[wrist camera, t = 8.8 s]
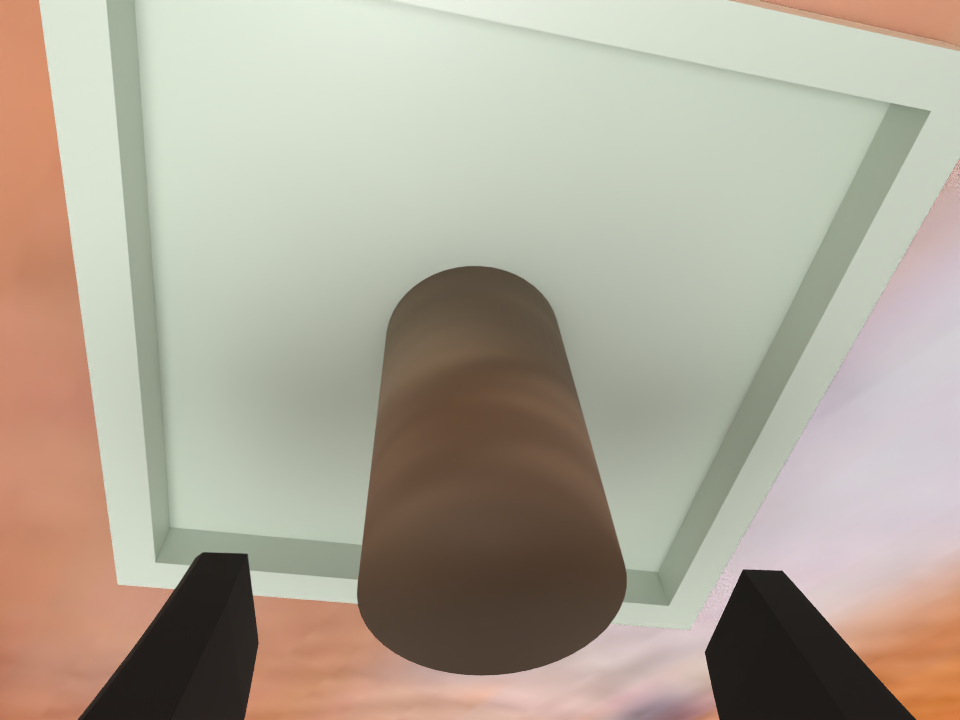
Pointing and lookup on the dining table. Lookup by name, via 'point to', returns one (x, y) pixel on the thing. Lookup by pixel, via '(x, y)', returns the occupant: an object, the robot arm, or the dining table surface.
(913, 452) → the dining table surface
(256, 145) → the tray
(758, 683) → the robot arm
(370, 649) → the dining table surface
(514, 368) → the pin
